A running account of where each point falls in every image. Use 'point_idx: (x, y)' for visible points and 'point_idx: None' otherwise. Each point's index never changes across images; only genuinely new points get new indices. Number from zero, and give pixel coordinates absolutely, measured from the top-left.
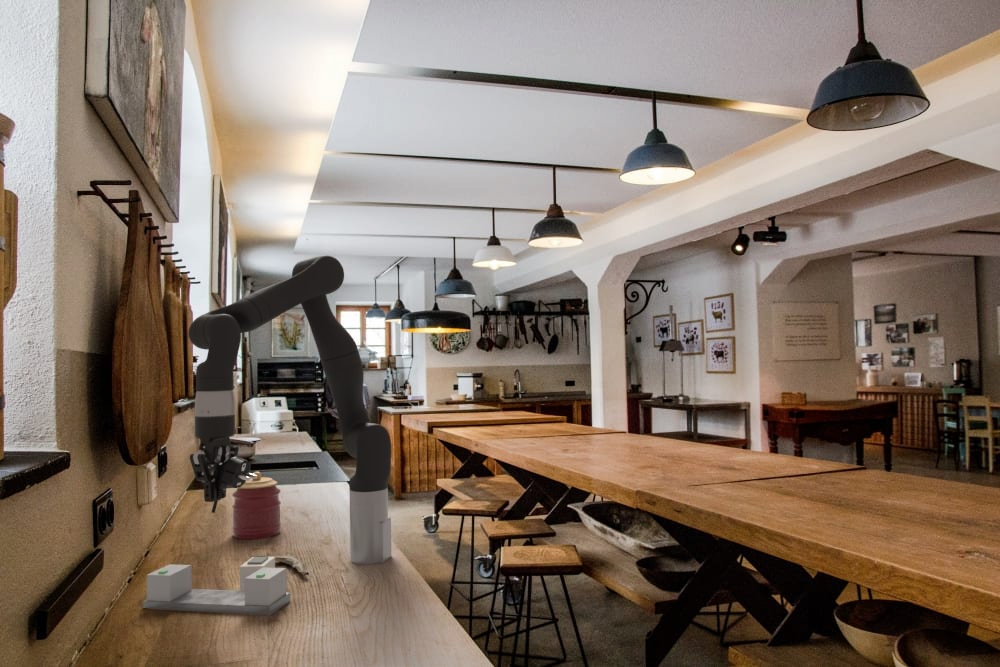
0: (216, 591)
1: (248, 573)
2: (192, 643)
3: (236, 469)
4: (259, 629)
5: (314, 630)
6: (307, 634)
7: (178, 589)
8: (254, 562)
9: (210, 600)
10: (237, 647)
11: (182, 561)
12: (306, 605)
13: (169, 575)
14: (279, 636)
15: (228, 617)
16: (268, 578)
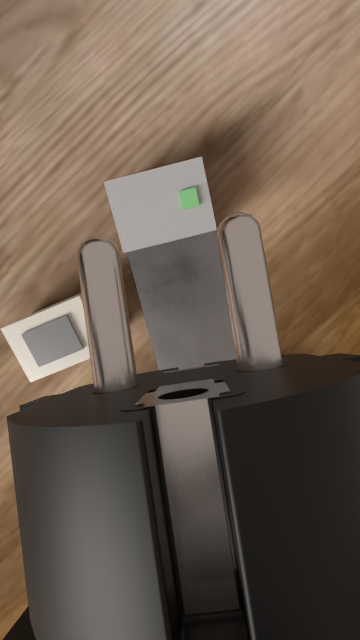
0: (166, 355)
1: None
2: (354, 219)
3: (352, 365)
4: (261, 141)
5: (229, 7)
6: (252, 7)
7: None
8: (74, 332)
9: (214, 323)
10: (350, 114)
11: (12, 589)
12: (111, 140)
13: None
14: (280, 66)
15: None
16: (196, 162)
